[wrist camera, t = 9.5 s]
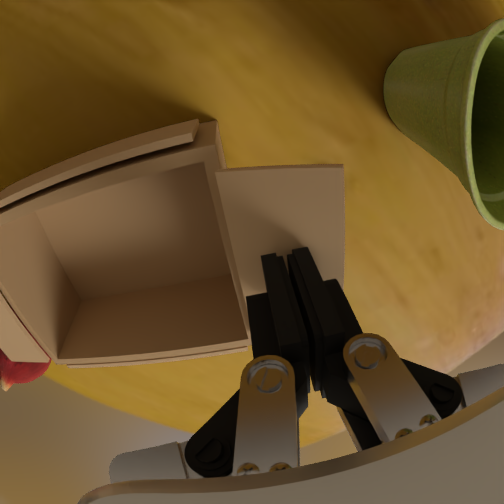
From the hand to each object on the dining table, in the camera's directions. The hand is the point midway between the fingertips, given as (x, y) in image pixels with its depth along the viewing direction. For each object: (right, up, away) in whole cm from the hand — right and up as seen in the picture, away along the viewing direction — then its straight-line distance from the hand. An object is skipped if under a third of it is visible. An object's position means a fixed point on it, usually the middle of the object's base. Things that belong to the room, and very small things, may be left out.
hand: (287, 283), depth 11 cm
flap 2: (0, 0, 0) cm, 0 cm away
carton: (-9, +3, +6) cm, 11 cm away
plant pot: (+9, +11, +3) cm, 15 cm away
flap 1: (-16, -2, +1) cm, 16 cm away
